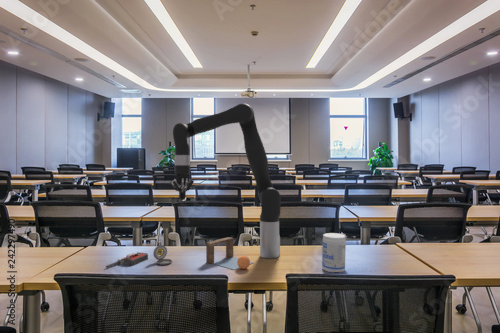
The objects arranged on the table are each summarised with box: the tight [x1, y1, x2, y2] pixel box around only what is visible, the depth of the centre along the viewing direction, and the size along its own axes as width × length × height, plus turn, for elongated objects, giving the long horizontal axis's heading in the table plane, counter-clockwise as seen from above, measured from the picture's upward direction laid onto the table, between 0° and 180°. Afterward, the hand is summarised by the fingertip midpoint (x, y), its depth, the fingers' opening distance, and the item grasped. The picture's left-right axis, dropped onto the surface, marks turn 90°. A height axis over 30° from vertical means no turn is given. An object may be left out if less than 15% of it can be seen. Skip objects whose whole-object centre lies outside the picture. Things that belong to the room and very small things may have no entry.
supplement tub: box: [321, 232, 347, 273], centre depth 144 cm, size 10×10×15 cm
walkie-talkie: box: [105, 251, 149, 269], centre depth 153 cm, size 9×4×20 cm
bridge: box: [205, 236, 234, 265], centre depth 158 cm, size 3×14×9 cm, turn 139°
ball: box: [237, 255, 251, 270], centre depth 145 cm, size 6×6×6 cm
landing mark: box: [213, 256, 254, 271], centre depth 152 cm, size 13×13×1 cm
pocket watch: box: [153, 240, 173, 266], centre depth 153 cm, size 8×8×10 cm
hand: (182, 199), depth 166 cm, fingers closed
